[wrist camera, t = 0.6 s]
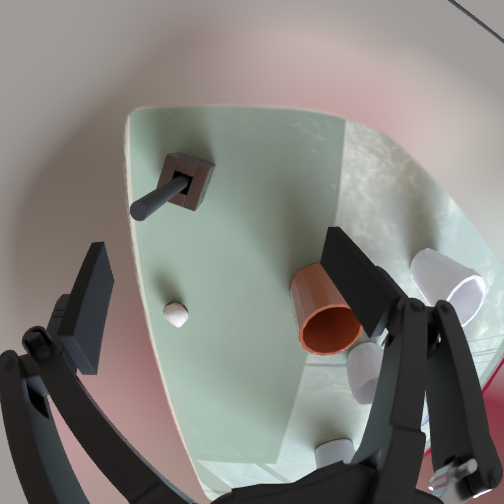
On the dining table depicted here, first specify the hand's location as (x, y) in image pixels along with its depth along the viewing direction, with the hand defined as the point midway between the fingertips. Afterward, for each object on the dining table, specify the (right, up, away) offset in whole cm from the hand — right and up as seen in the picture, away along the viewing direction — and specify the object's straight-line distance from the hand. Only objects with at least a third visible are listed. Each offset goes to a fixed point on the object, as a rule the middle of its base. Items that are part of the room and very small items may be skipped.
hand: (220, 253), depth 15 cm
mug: (+25, -22, +34) cm, 48 cm away
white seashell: (-11, -10, +30) cm, 33 cm away
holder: (-7, +10, +21) cm, 24 cm away
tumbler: (+12, -6, +27) cm, 30 cm away
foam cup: (+32, -2, +26) cm, 41 cm away
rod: (-7, +10, +21) cm, 24 cm away
